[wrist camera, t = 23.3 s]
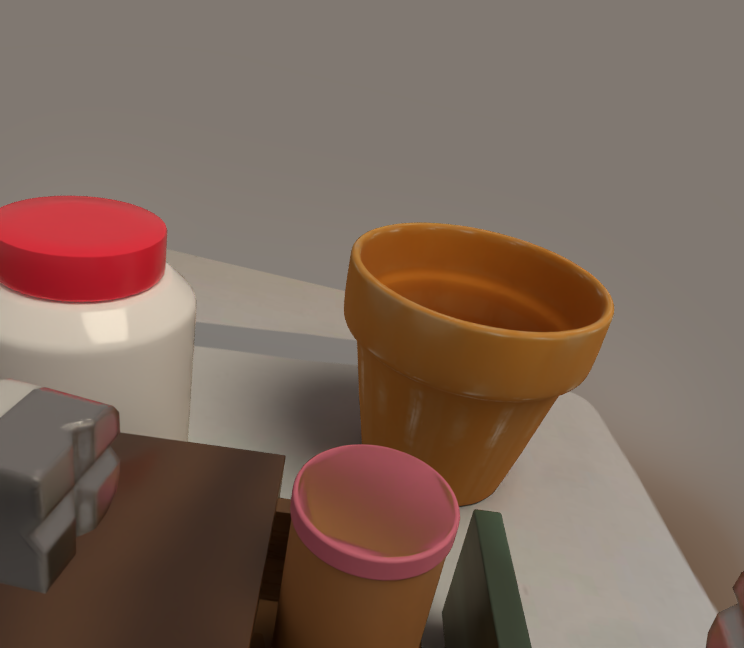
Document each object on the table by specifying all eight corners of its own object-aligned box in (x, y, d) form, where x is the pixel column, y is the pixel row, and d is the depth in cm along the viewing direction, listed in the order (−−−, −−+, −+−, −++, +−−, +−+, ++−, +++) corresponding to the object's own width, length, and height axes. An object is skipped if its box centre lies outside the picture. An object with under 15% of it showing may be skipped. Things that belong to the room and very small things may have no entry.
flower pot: (583, 546, 38) (667, 344, 33) (330, 544, 35) (373, 320, 30) (503, 400, 51) (554, 234, 45) (310, 389, 48) (338, 210, 42)
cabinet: (266, 593, 32) (285, 455, 28) (206, 930, 21) (226, 773, 17) (-60, 552, 31) (-83, 403, 27) (-307, 884, 20) (-403, 706, 16)
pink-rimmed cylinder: (402, 781, 24) (470, 572, 19) (250, 765, 23) (283, 548, 19) (397, 648, 28) (452, 454, 24) (271, 633, 28) (301, 433, 23)
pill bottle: (-47, 564, 30) (-90, 265, 24) (-5, 425, 39) (-28, 176, 32) (190, 545, 34) (209, 277, 27) (182, 421, 42) (195, 193, 36)
